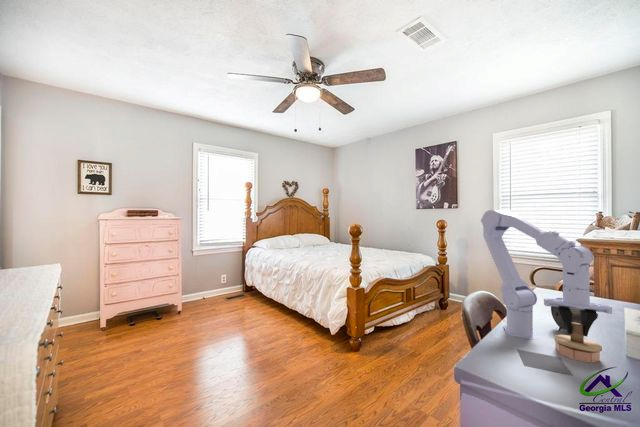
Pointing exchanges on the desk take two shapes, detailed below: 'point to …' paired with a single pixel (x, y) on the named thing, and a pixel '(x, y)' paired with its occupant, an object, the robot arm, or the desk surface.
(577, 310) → the alarm clock
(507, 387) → the desk surface
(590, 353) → the bowl
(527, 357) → the mat
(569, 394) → the desk surface
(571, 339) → the lid
